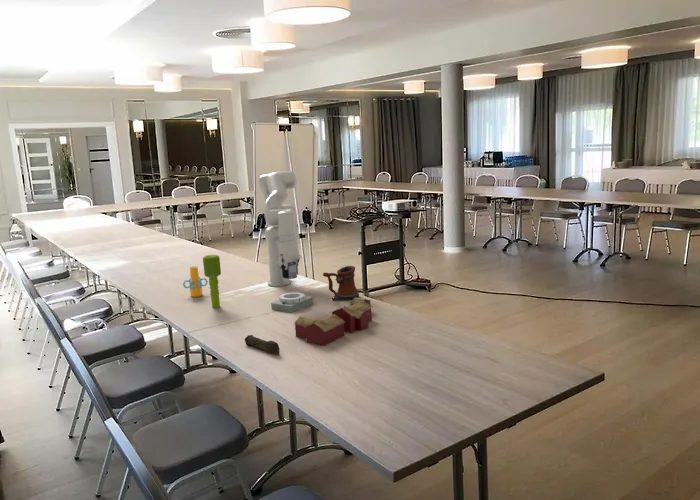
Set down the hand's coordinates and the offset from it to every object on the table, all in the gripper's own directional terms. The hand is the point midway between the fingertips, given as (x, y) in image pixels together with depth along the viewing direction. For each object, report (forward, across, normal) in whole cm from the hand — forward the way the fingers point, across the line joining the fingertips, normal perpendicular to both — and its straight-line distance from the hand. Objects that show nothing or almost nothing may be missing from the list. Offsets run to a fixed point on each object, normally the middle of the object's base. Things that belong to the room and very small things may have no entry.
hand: (290, 275), depth 269 cm
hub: (+1, 0, 0) cm, 1 cm away
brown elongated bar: (+15, +48, +26) cm, 57 cm away
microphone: (+15, +16, -34) cm, 40 cm away
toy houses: (+15, +13, +38) cm, 43 cm away
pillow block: (+15, 0, 0) cm, 15 cm away
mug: (+15, -20, +14) cm, 29 cm away
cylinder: (+15, +6, -59) cm, 61 cm away
